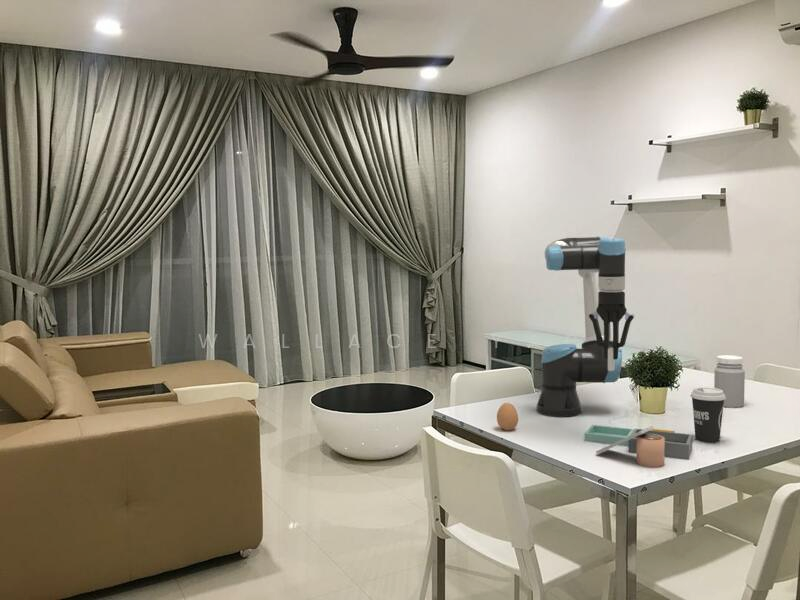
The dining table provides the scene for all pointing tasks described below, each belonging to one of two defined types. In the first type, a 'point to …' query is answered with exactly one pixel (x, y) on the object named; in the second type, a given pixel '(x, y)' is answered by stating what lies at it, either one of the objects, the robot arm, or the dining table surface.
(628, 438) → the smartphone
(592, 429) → the trough
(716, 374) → the jar
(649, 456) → the salmon cylinder
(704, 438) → the coffee cup
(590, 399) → the dining table surface
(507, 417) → the egg
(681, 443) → the grey storage tray
